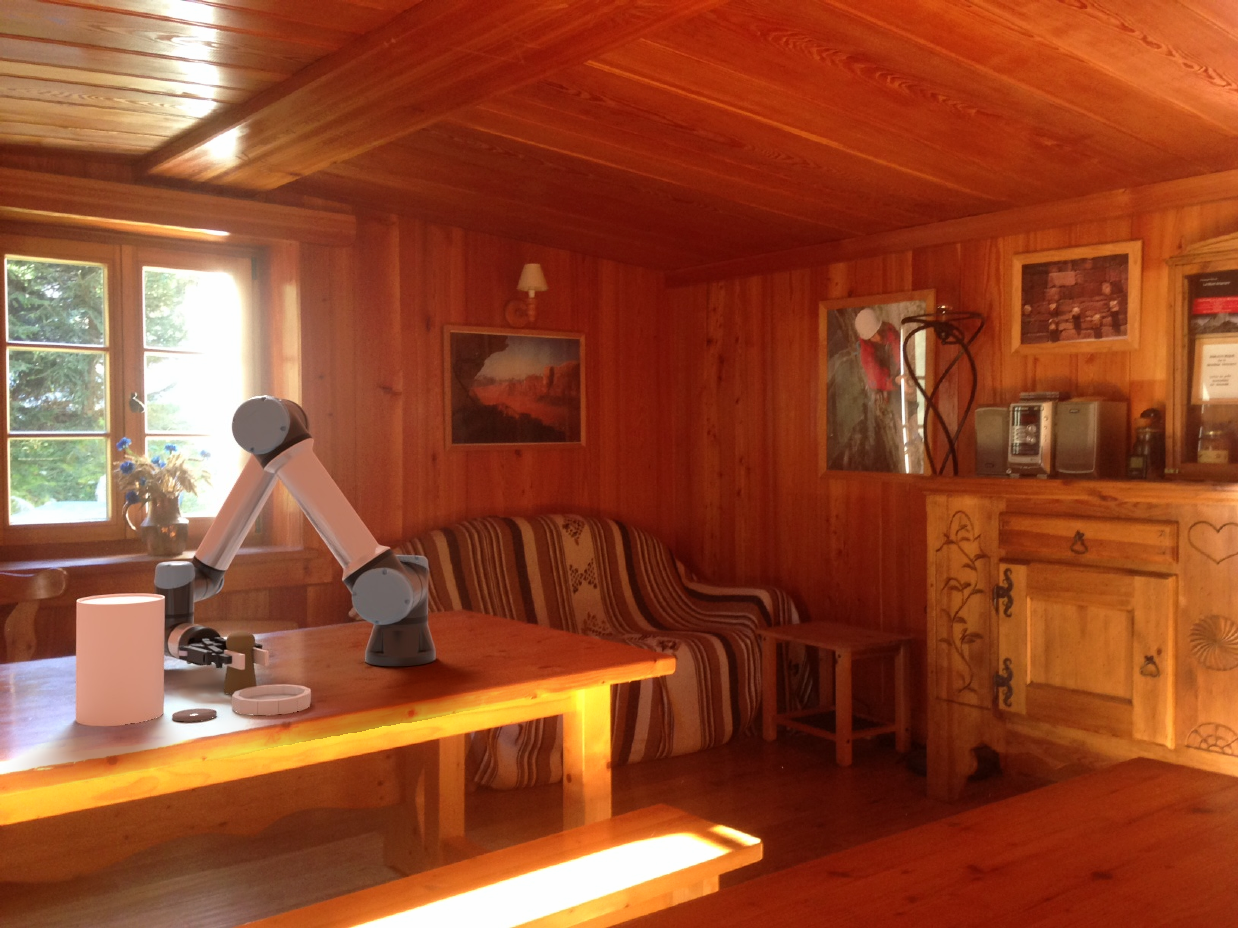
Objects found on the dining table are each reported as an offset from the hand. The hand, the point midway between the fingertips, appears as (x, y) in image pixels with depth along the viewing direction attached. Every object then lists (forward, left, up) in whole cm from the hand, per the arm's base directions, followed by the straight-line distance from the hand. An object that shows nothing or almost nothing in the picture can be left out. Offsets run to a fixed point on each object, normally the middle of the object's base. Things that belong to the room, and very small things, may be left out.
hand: (254, 660), depth 193 cm
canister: (+20, +11, -7) cm, 24 cm away
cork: (+3, -4, -7) cm, 9 cm away
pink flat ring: (-4, +9, -7) cm, 12 cm away
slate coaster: (+8, +14, -7) cm, 18 cm away
